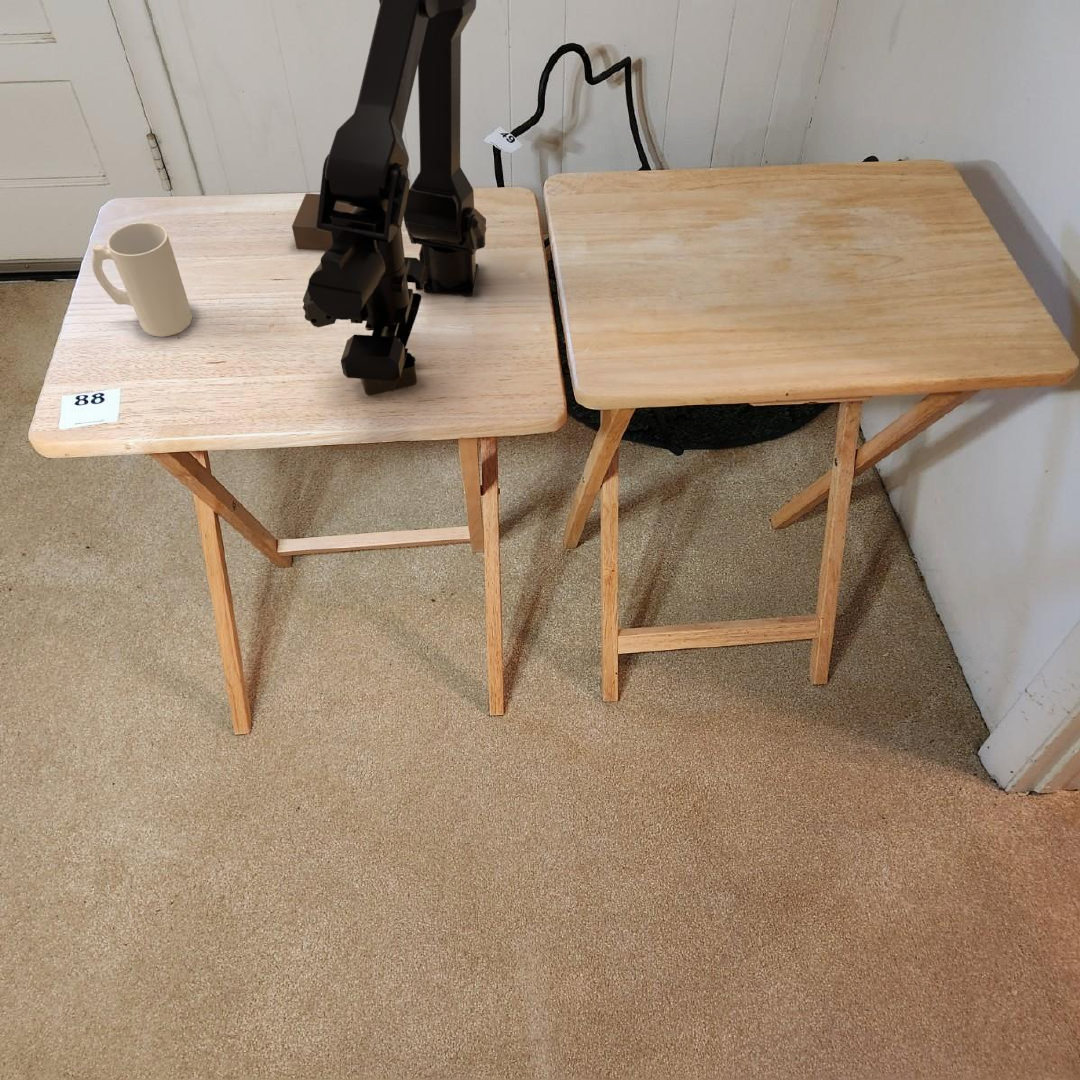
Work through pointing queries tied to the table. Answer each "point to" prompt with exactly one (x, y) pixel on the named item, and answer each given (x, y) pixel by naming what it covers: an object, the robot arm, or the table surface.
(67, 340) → the table surface
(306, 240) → the walnut block
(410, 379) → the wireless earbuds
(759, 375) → the table surface
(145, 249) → the mug
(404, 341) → the robot arm
